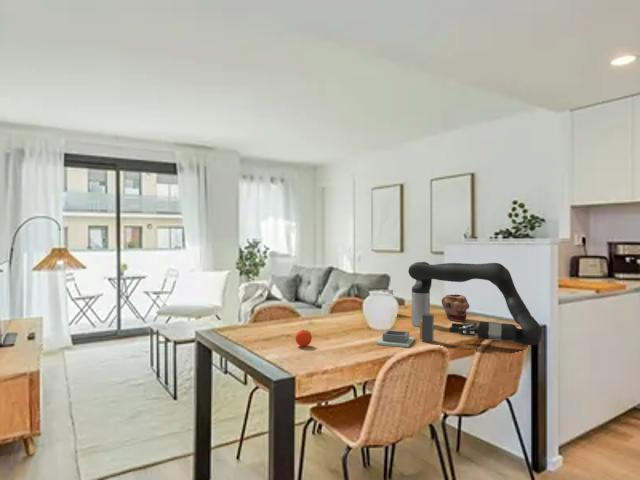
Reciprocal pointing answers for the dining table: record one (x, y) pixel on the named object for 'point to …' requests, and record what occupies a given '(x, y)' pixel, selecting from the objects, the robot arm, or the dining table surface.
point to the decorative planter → (455, 307)
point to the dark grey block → (427, 328)
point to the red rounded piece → (303, 338)
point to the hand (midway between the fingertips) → (450, 327)
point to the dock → (396, 339)
